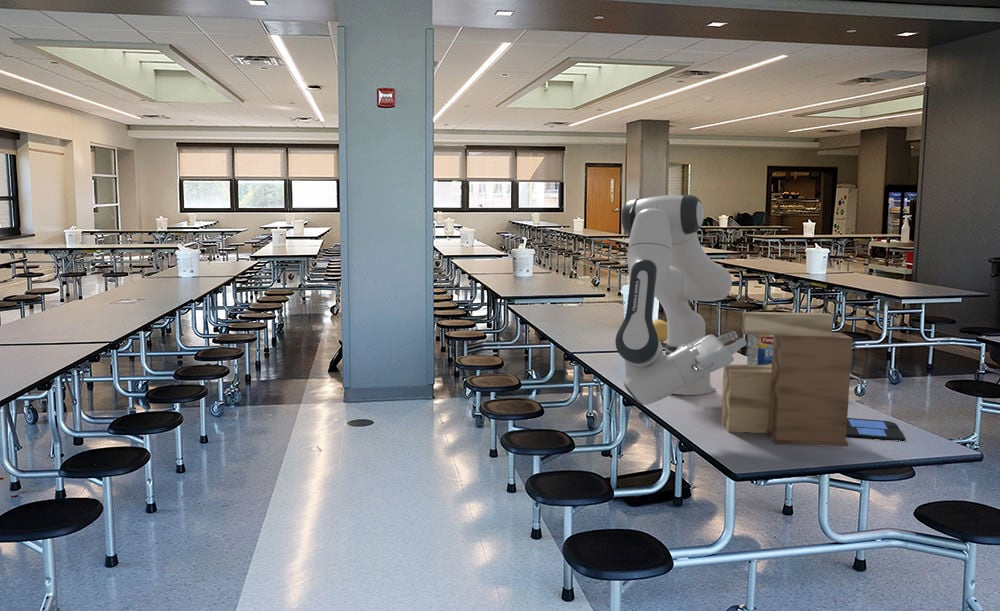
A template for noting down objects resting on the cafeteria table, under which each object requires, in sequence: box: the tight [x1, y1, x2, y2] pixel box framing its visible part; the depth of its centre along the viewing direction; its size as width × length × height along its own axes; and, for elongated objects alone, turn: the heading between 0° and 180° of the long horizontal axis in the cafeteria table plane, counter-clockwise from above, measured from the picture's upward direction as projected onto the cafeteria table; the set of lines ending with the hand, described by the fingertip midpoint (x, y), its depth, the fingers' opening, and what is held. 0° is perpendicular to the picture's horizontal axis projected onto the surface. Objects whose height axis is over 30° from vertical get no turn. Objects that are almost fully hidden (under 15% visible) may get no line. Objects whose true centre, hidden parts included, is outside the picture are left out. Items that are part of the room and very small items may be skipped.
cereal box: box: [746, 335, 773, 365], centre depth 248 cm, size 7×11×22 cm, turn 100°
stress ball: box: [653, 318, 668, 344], centre depth 317 cm, size 10×10×10 cm
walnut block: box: [765, 332, 853, 448], centre depth 187 cm, size 8×17×26 cm, turn 85°
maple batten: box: [741, 311, 834, 336], centre depth 186 cm, size 4×20×5 cm, turn 85°
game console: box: [846, 417, 906, 442], centre depth 196 cm, size 14×13×2 cm
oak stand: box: [721, 363, 772, 434], centre depth 198 cm, size 9×22×17 cm, turn 85°
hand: (740, 337), depth 187 cm, fingers open, 8 cm apart
